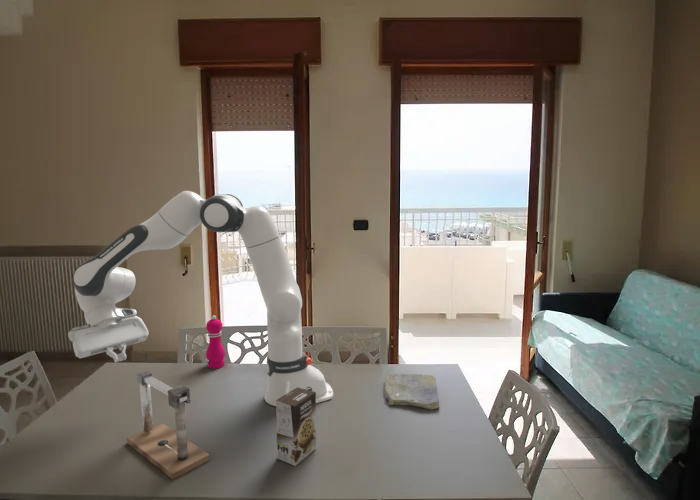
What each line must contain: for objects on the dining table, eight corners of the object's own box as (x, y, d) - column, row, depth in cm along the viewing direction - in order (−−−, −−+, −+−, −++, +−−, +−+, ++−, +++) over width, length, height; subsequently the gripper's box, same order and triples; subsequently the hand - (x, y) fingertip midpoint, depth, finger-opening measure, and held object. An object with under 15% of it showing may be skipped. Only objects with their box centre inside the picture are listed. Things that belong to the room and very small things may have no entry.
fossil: (384, 412, 141) (440, 412, 139) (383, 398, 141) (439, 398, 139) (385, 386, 161) (435, 385, 159) (385, 373, 161) (434, 372, 159)
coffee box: (296, 467, 113) (294, 406, 110) (276, 458, 116) (274, 399, 114) (317, 448, 120) (316, 391, 118) (298, 441, 124) (297, 385, 121)
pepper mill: (220, 369, 171) (217, 318, 168) (202, 368, 172) (200, 317, 169) (229, 362, 178) (226, 313, 175) (212, 361, 179) (209, 312, 176)
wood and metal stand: (127, 442, 123) (121, 374, 120) (162, 427, 131) (157, 362, 128) (172, 479, 108) (167, 401, 105) (209, 460, 116) (205, 386, 113)
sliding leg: (141, 431, 125) (136, 374, 123) (150, 427, 127) (146, 370, 125) (181, 461, 112) (177, 398, 109) (192, 456, 114) (188, 393, 111)
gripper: (68, 323, 127) (84, 365, 122) (140, 308, 142) (157, 345, 138) (63, 335, 130) (79, 377, 126) (134, 319, 146) (151, 355, 141)
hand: (121, 360), depth 132 cm, fingers closed
